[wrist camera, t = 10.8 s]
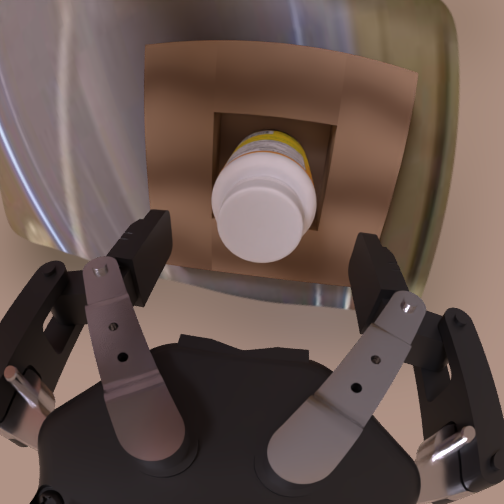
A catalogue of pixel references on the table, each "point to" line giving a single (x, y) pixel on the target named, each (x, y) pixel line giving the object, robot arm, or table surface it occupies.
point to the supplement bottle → (264, 197)
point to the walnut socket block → (281, 118)
